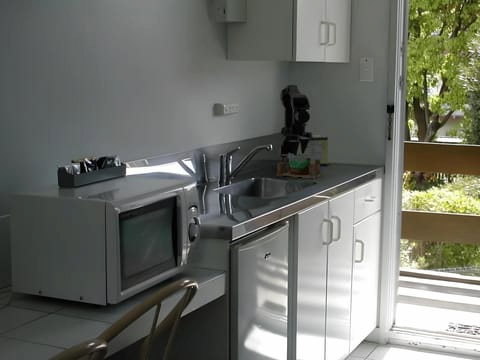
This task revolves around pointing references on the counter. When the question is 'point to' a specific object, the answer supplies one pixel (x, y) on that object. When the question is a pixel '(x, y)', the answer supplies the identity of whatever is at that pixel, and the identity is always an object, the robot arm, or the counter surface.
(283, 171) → the bracket
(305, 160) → the food container
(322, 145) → the protein box
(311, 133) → the robot arm
